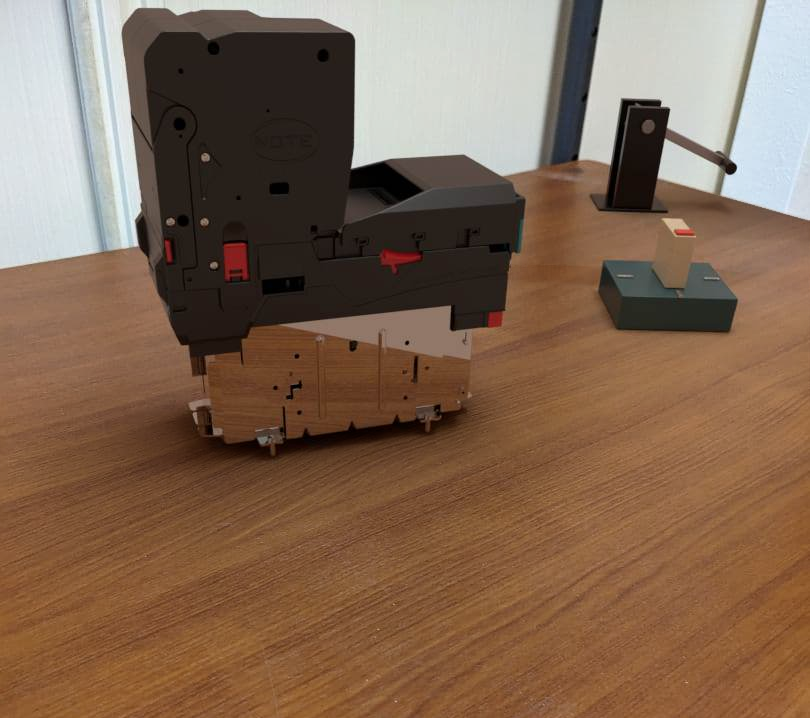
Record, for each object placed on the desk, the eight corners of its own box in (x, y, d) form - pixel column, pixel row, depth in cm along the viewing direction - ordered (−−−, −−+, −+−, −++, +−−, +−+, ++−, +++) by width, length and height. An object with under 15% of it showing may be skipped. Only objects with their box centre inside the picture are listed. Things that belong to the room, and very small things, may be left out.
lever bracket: (654, 205, 111) (674, 99, 104) (666, 221, 106) (688, 110, 99) (588, 203, 111) (604, 96, 104) (597, 219, 106) (614, 107, 99)
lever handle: (715, 168, 108) (728, 149, 107) (729, 181, 104) (742, 161, 102) (620, 120, 105) (632, 99, 104) (630, 131, 100) (643, 109, 99)
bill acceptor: (506, 424, 66) (551, 26, 51) (182, 474, 59) (125, 32, 44) (450, 362, 74) (475, 2, 59) (158, 400, 67) (103, 4, 52)
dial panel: (701, 293, 88) (709, 260, 86) (730, 332, 80) (739, 297, 79) (597, 290, 88) (603, 257, 86) (616, 329, 80) (623, 294, 78)
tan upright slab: (651, 267, 84) (662, 215, 81) (671, 268, 84) (682, 215, 81) (664, 288, 80) (676, 233, 77) (685, 288, 80) (697, 234, 77)
